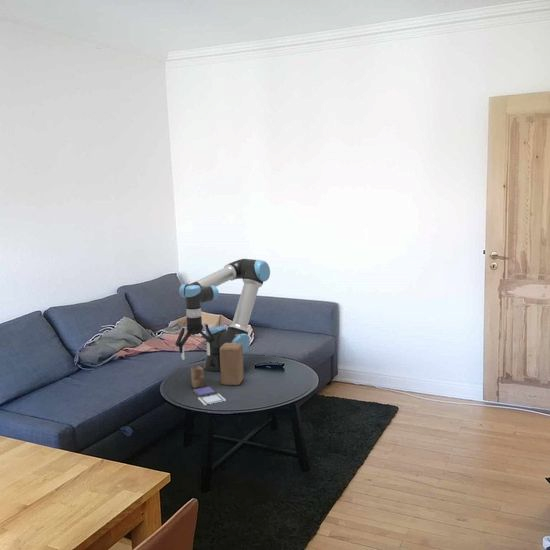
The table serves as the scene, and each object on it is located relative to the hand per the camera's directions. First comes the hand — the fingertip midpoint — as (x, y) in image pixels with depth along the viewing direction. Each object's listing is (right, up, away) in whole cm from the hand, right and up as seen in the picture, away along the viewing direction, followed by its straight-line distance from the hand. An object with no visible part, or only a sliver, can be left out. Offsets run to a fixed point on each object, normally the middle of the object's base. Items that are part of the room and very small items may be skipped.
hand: (195, 357), depth 294 cm
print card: (+10, -19, -15) cm, 26 cm away
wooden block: (+18, -14, +8) cm, 25 cm away
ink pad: (+5, -17, -6) cm, 19 cm away
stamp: (+1, -16, +3) cm, 16 cm away
